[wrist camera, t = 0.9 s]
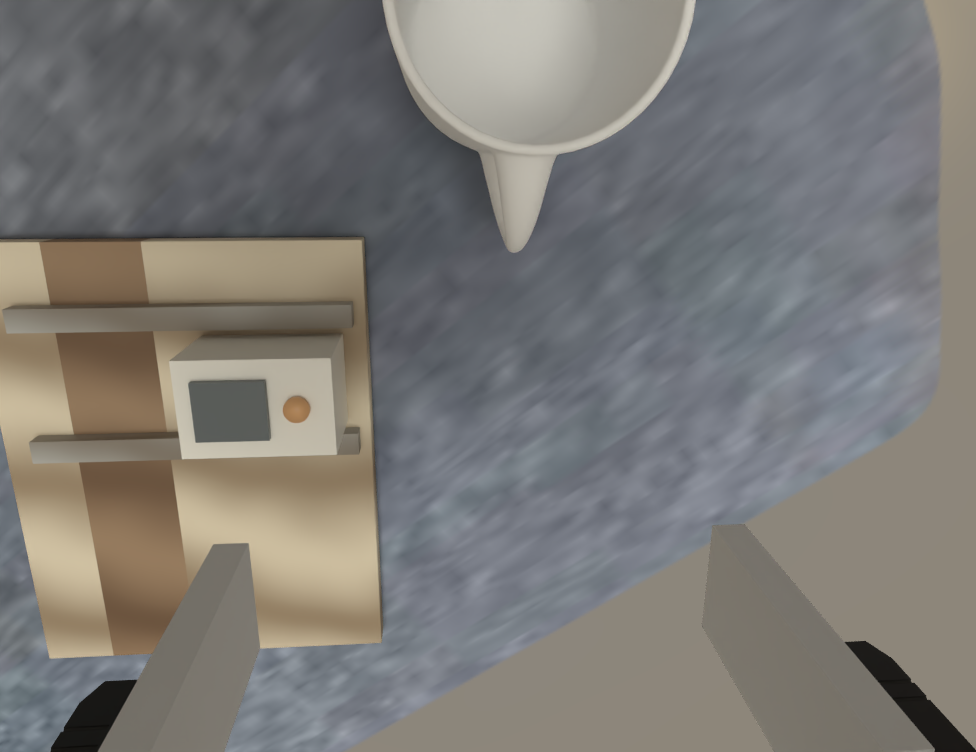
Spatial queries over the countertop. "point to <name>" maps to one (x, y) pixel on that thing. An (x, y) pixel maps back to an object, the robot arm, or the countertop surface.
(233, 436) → the block
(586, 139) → the mug
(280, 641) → the subfloor panel
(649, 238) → the countertop surface
